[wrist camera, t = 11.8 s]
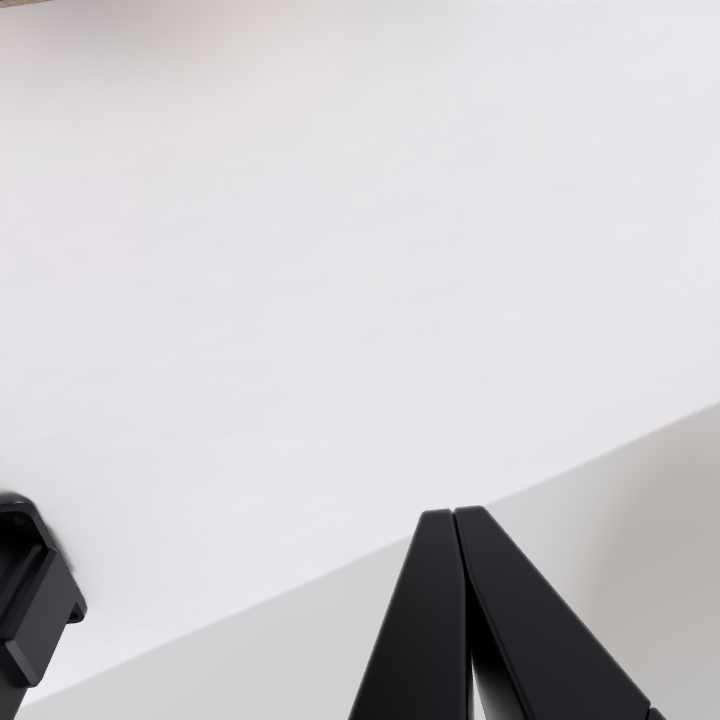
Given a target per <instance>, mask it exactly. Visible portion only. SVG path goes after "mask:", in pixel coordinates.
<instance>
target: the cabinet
mask: <svg viewBox="0 0 720 720" xmlns="http://www.w3.org/2000/svg"><path fill="white" fill-rule="evenodd" d="M43 1H50V0H0V8H4V7H10V6H17V5H24V4H30V3H37V2H43Z"/></svg>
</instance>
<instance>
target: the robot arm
mask: <svg viewBox="0 0 720 720" xmlns="http://www.w3.org/2000/svg"><path fill="white" fill-rule="evenodd" d="M21 516H22V517H21ZM87 610H88V609H87V605H86V604H85V602H84V600H83V598H82V596H81V594H80V592H79V590H78V588H77V586H76V584H75V582H74V580H73V579H72V577H71V575H70V573H69V571H68V569H67V567H66V565H65V563H64V561H63V560H62V558H61V556H60V554H59V552H58V550H57V548H56V546H55V545H54V543H53V541H52V539H51V537H50V535H49V533H48V531H47V529H46V527H45V526H44V524H43V522H42V520H41V518H40V516H39V514H38V512H37V511H36V510H35V508H34V507H32V506H30V505H28V504H25V503H16V504H7V505H0V720H14V718H15V715H16V713H17V711H18V709H19V707H20V704H21V702H22V700H23V698H24V695H25V693H26V691H27V689H28V688H32V687H36V686H37V685H38V684H39V683H40V681H41V680H42V678H43V676H44V674H45V671H46V669H47V667H48V664H49V662H50V660H51V658H52V655H53V653H54V651H55V648H56V646H57V644H58V641H59V639H60V637H61V635H62V632H63V630H64V628H65V625H66V624H71V623H78V622H81V621H82V620H83V619H84V617H85V614H86V612H87ZM472 665H473V670H474V675H475V679H476V683H477V687H478V692H479V695H480V699H481V703H482V706H483V710H484V714H485V717H486V720H666V719H665V718H664V716H663V715H662V714H661V713H660V712H659V711H658V710H657V709H656V708H654V707H653V708H651V702H650V700H649V699H648V698H647V697H646V696H645V695H644V694H643V692H642V691H641V690H640V689H639V688H638V687H637V685H636V684H635V683H634V682H633V681H632V679H631V678H630V677H629V676H628V675H627V674H626V672H625V671H624V670H623V669H622V668H621V667H620V665H619V664H618V663H617V662H616V661H615V660H614V658H613V657H612V656H611V655H610V654H609V653H608V651H607V650H606V649H605V648H604V647H603V646H602V645H601V643H600V642H599V641H598V640H597V639H596V637H595V636H594V635H593V634H592V633H591V631H590V630H589V629H588V628H587V627H586V626H585V624H584V623H583V622H582V621H581V620H580V619H579V617H578V616H577V615H576V614H575V613H574V612H573V610H572V609H571V608H570V607H569V606H568V604H567V603H566V602H565V601H564V600H563V599H562V598H561V596H560V595H559V594H558V593H557V592H556V590H555V589H554V588H553V587H552V586H551V585H550V583H549V582H548V581H547V580H546V579H545V578H544V576H543V575H542V574H541V573H540V572H539V571H538V570H537V568H536V567H535V566H534V565H533V564H532V562H531V561H530V560H529V559H528V558H527V557H526V555H525V554H524V553H523V552H522V551H521V549H520V548H519V547H518V546H517V545H516V544H515V543H514V541H513V540H512V539H511V538H510V537H509V535H508V534H507V533H506V532H505V531H504V530H503V528H502V527H501V526H500V525H499V524H498V523H497V522H496V520H495V519H494V518H493V517H492V516H491V514H490V513H489V512H488V511H487V510H486V509H485V508H484V507H482V506H468V507H458V508H456V509H454V511H453V513H452V511H451V510H450V509H439V510H429V511H424V512H423V513H422V514H421V516H420V518H419V521H418V524H417V527H416V530H415V533H414V535H413V538H412V541H411V544H410V547H409V549H408V552H407V555H406V558H405V561H404V563H403V566H402V569H401V572H400V575H399V578H398V580H397V583H396V586H395V589H394V592H393V594H392V597H391V600H390V603H389V605H388V608H387V611H386V614H385V617H384V619H383V622H382V625H381V628H380V631H379V633H378V636H377V639H376V642H375V645H374V647H373V651H372V653H371V656H370V659H369V661H368V664H367V667H366V670H365V673H364V676H363V678H362V681H361V684H360V687H359V690H358V693H357V695H356V698H355V701H354V704H353V706H352V709H351V712H350V715H349V718H348V720H474V693H473V692H474V691H473V674H472ZM650 708H651V709H650Z"/></svg>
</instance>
